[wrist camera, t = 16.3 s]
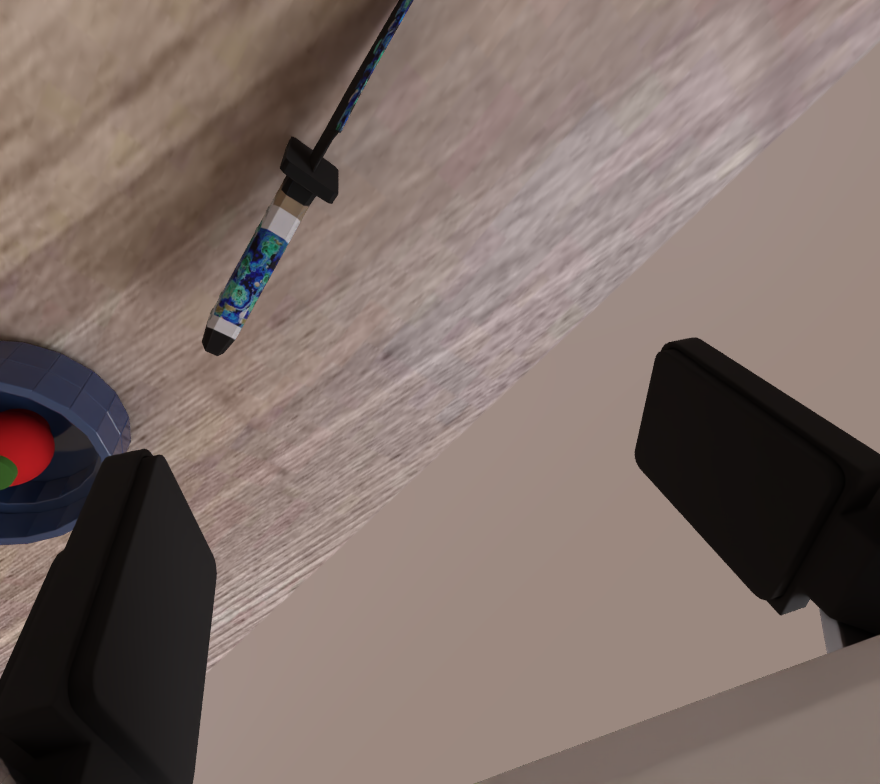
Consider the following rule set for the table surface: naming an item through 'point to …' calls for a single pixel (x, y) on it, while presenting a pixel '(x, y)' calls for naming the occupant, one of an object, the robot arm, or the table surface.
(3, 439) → the strawberry
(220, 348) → the knife
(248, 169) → the table surface
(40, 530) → the bowl
